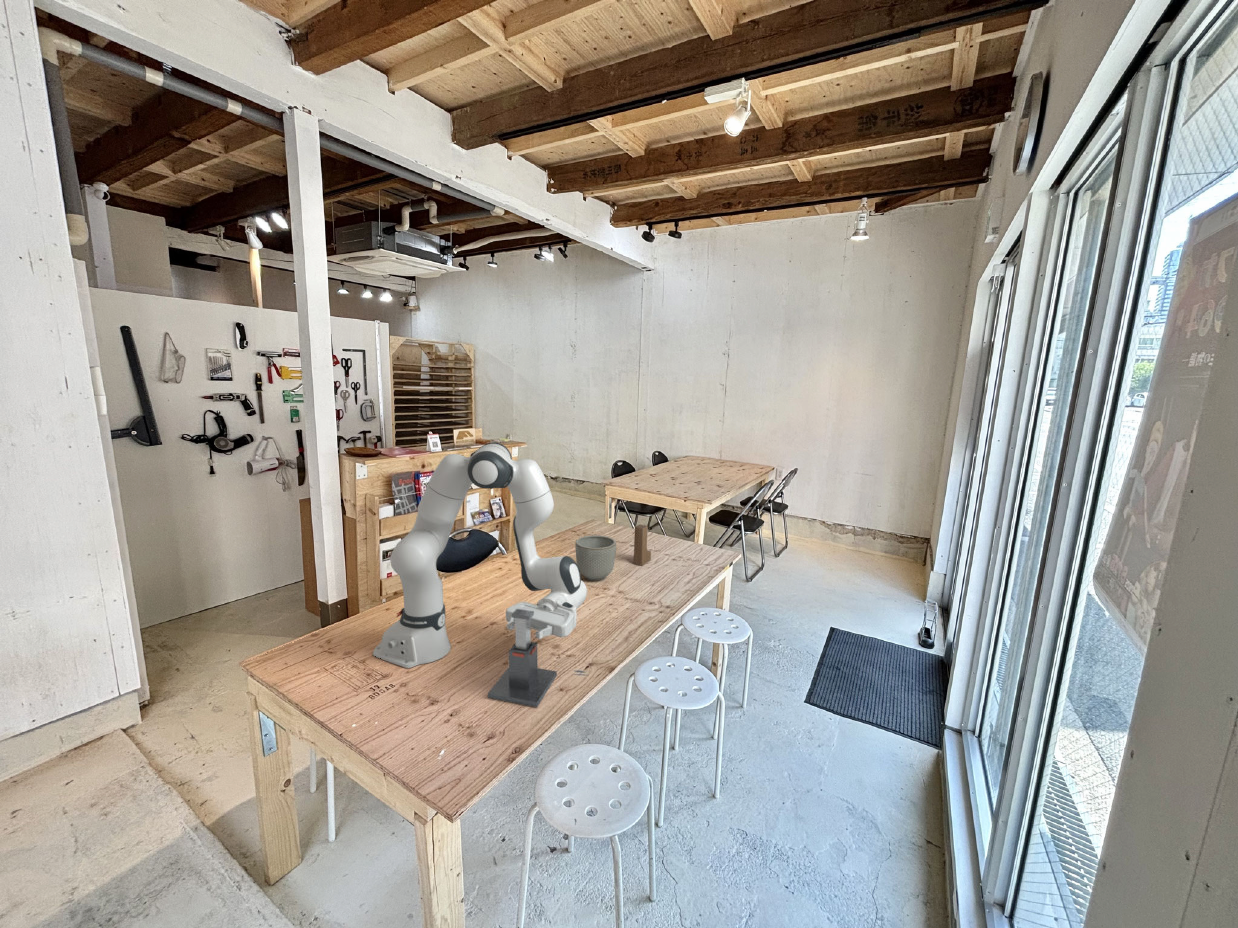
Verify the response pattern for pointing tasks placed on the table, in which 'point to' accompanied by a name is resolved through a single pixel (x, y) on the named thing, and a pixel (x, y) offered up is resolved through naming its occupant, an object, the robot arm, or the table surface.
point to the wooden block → (641, 546)
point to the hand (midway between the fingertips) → (522, 631)
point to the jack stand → (523, 679)
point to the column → (523, 629)
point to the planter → (595, 556)
